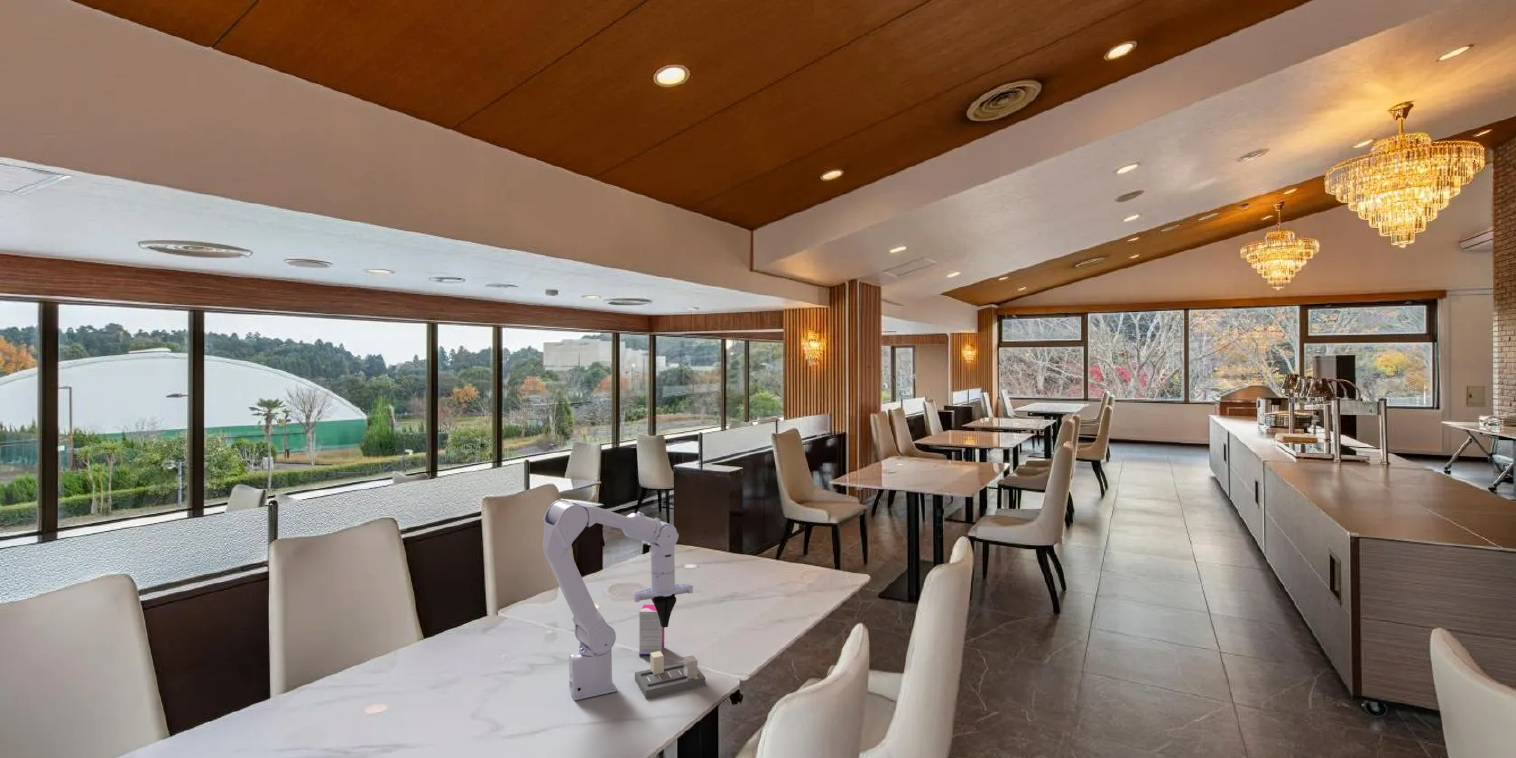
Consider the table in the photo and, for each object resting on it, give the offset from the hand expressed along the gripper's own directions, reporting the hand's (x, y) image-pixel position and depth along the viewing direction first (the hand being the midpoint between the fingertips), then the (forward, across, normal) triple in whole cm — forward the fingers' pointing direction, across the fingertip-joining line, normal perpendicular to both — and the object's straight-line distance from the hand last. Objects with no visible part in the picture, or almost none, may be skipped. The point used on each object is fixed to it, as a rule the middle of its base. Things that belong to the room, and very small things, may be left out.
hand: (664, 626), depth 161 cm
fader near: (+9, +3, -12) cm, 15 cm away
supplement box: (+10, 0, +10) cm, 14 cm away
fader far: (+9, -4, -6) cm, 11 cm away
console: (+10, -2, -9) cm, 13 cm away
